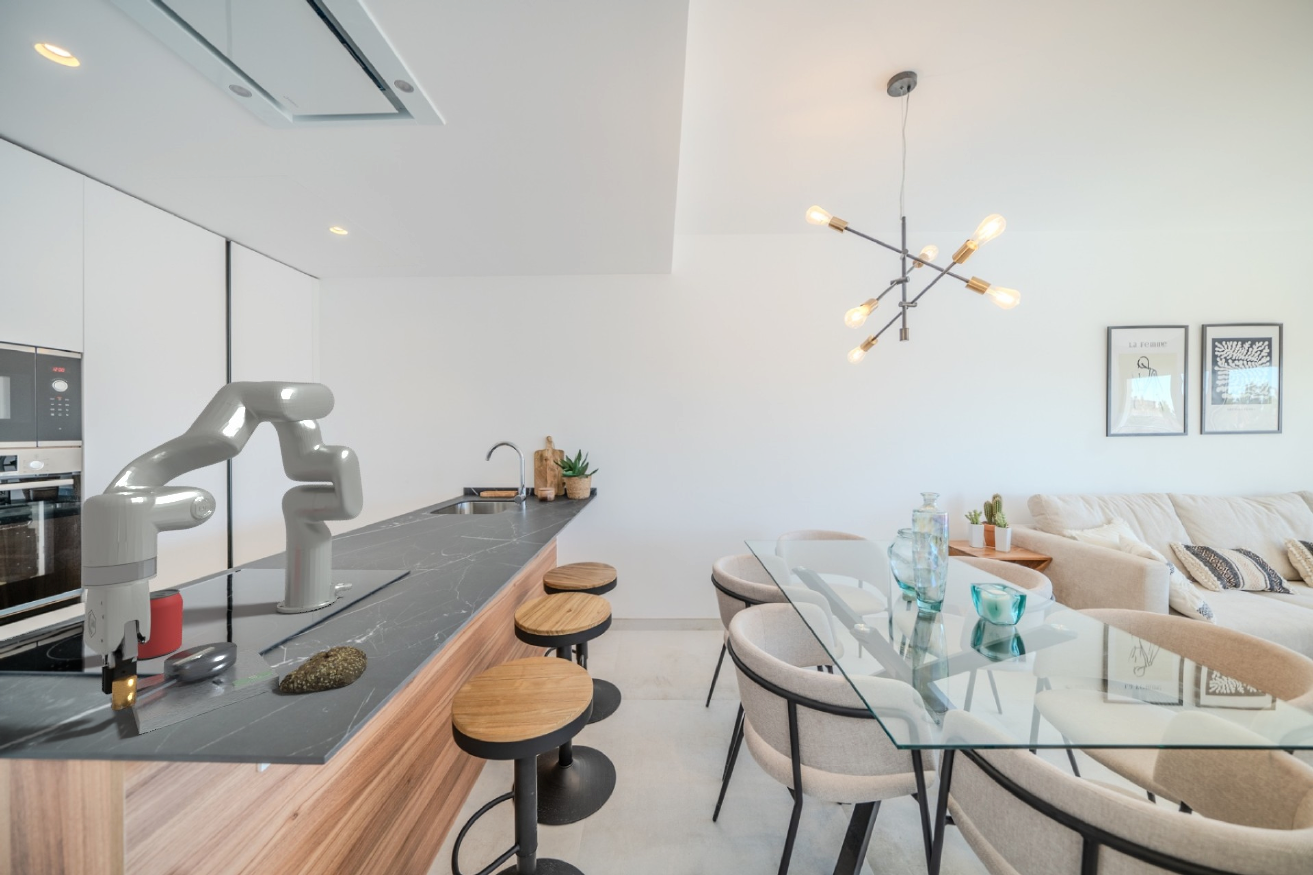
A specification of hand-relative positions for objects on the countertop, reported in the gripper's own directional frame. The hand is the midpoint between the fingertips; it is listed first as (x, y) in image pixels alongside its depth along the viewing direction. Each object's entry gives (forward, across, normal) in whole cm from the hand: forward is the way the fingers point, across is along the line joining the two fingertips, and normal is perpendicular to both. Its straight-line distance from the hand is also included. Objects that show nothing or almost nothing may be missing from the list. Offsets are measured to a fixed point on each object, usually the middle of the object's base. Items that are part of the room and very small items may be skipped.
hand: (119, 688), depth 69 cm
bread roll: (+5, +15, +22) cm, 27 cm away
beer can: (+5, -24, +11) cm, 27 cm away
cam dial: (+2, 0, +6) cm, 7 cm away
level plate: (+4, +2, +9) cm, 10 cm away
